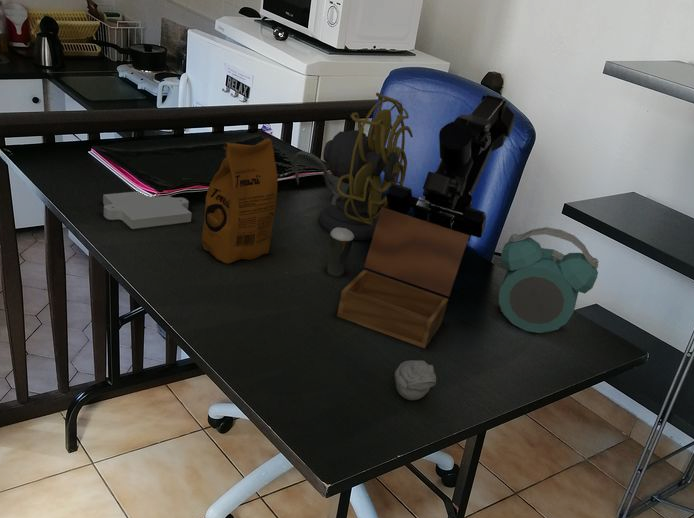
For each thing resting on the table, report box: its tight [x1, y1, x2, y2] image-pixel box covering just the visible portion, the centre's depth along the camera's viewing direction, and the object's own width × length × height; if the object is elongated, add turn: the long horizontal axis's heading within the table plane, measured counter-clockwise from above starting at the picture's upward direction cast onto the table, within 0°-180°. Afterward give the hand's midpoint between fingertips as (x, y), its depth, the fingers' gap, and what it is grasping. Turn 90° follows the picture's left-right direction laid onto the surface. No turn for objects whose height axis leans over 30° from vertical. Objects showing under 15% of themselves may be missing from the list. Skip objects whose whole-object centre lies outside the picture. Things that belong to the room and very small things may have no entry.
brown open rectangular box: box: [336, 269, 449, 349], centre depth 134 cm, size 11×17×5 cm, turn 68°
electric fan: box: [292, 92, 414, 241], centre depth 165 cm, size 26×32×30 cm
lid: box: [363, 207, 470, 298], centre depth 136 cm, size 11×17×1 cm
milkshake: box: [326, 228, 360, 277], centre depth 146 cm, size 4×5×10 cm
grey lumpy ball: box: [394, 359, 437, 401], centre depth 114 cm, size 6×7×7 cm
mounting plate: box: [102, 190, 193, 230], centre depth 155 cm, size 18×13×2 cm
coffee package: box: [200, 138, 279, 264], centre depth 142 cm, size 10×12×22 cm
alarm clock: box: [498, 226, 599, 334], centre depth 140 cm, size 17×10×20 cm, turn 71°
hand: (419, 250), depth 138 cm, fingers closed
